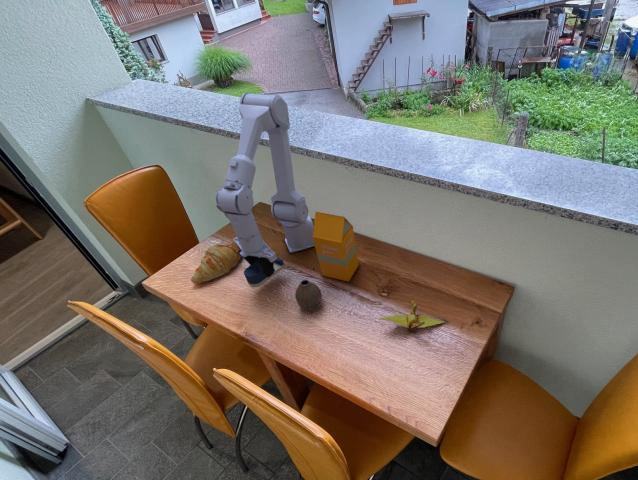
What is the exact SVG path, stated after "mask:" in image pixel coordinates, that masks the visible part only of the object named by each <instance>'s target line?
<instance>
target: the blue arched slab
mask: <svg viewBox="0 0 638 480" xmlns="http://www.w3.org/2000/svg"><path fill="white" fill-rule="evenodd" d="M273 266H274V274H272V275H271V276H270V277H267V276H266V275H265V273H264V272H263V270H262V268H261V267H260V266H259V265H258V264H257V263H255V262H254V263H253V264H252V265H250V264H249V266H247V267H246V268H245V269H244V271H243V275H244V277H245V279H246V281H247V284H248V286H249V287H251V288H259V287H261V286H264V285H265V284H266V283H267V282H268V281H269V280H271V279H272V278H273V277H275V276H276V275H277V274H279V272H281V271H282V270H283V269H285V268H286V266H285V263H284V260H283V259H282V258H280V257H278V256H277V259H276V260H275V261H274V265H273Z"/></svg>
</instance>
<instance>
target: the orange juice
mask: <svg viewBox="0 0 638 480" xmlns="http://www.w3.org/2000/svg"><path fill="white" fill-rule="evenodd" d="M313 226H314V231H313V240H314V244H315V246H314V249H315V251H316V257H317V261H318V264H319V267H320V271H321V276H323V277H328V278H332V279H335V280H341V281H344V282H350V281H351V279H352V277H353V275H354V274H355V272H356V271H357V269H358V268H359V259H358V252H357V250H358V249H357V243H356V238H355V233H354V232H355V231H354V226H353V224H351V223H350V221H348V219H347V218H346V217H345V216H341V215H337V214H332V213H331V214H330V213H325V212H320V211H315V214H314V222H313Z"/></svg>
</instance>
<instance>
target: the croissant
mask: <svg viewBox="0 0 638 480" xmlns="http://www.w3.org/2000/svg"><path fill="white" fill-rule="evenodd" d="M239 250H241V249H240V248H239V246H236V245H235V244H234V242H233V241H232V242H231V243H223V244H215V245H212V246H209V247H208V248H207V249H206V250H205V255H204V256H202V258H201V260H200V264H199V265H198V267H197V268H195V270H194V275H193V276H191V278H190V282H191V283H193V284H201V283H205V282H208V281H211V280H213V279H216V278H219V277H221V276H223V275H226V274H229V273H230V271H231V270H232V269H233V268H235V267H236V266H237V265H238V263H239V262H240V261H241V260H240V259H241V258H242V257H241V256H240V255H239V254H238V251H239Z"/></svg>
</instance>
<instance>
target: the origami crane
mask: <svg viewBox="0 0 638 480" xmlns="http://www.w3.org/2000/svg"><path fill="white" fill-rule="evenodd" d="M410 305H411V306H412V309H411V311H410V314H407V315H405V314H402V313H401V314H400V313H399V314H393V315H390V316H385V317H384V316H383V317H379V320H381V321H386V322H390V323H393V324H397V325H399V326H402V327H404V328H408V329H409V331H410V332H415V331H416V330H418V329H421V328H426V327H431V326H432V327H433V326H436V325H440V324H446V321H444V320H441V319H438V318H437V317H433V316H431V315H427V314H424V313H420V314H416V311H417V309H418V302H417V303H416V301H414V300H413V299H412V300H410Z"/></svg>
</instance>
